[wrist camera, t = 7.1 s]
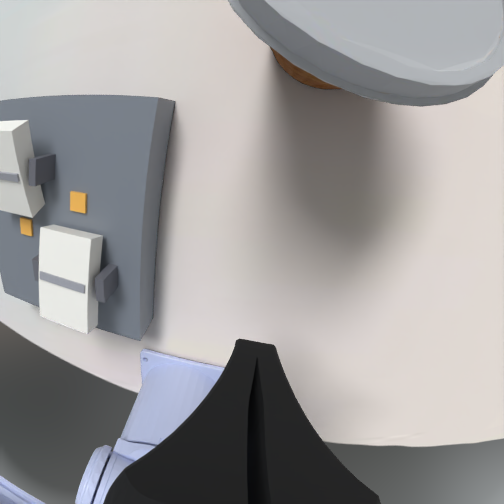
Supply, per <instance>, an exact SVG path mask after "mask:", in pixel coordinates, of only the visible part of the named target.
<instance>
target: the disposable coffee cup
mask: <svg viewBox="0 0 504 504" xmlns="http://www.w3.org/2000/svg"><path fill="white" fill-rule="evenodd" d="M228 1H229V3H230V5H231V7H232V9H233V10H234V11H235V13H236V14H237V15H238V16H239V17H240V18H241V19H242V20H243V22H244V23H245V24H246V25H247V26H248V27H249V28H250V29H251V30H252V31H253V32H254V33H255V35H256V36H257V37H258V38H259V39H261V40H262V41H263V42H265V43H266V44H268V45H269V46H270V48H271V50H272V51H273V53H274V56H275V57H276V59H277V61H278V63H279V64H280V65H281V67H282V68H283V69H284V70H285V71H286V72H287V73H288V74H289V75H290V76H292V77H293V78H294V79H296V80H298V81H299V82H301V83H303V84H306V85H309V86H312V87H315V88H320V89H344V90H347V91H349V92H352V93H354V94H356V95H359V96H362V97H364V98H368V99H373V100H378V101H382V102H387V103H391V104H398V105H410V106H431V105H441V104H447V103H450V102H454V101H457V100H460V99H463V98H466V97H468V96H469V95H471V94H472V93H474V92H475V91H477V90H478V89H479V88H481V87H482V86H484V85H485V83H486V82H487V81H488V80H489V79H490V78H491V77H492V76H493V74H494V73H495V72H496V71H497V70H498V69H500V68H501V67H502V66H503V65H504V0H228Z"/></svg>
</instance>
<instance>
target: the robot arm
mask: <svg viewBox="0 0 504 504" xmlns="http://www.w3.org/2000/svg"><path fill="white" fill-rule="evenodd" d="M140 358H141V375H142V387H141V389H140V392H139V394H138V397H137V399H136V401H135V404H134V406H133V408H132V411H131V413H130V416H129V418H128V420H127V423H126V425H125V428H124V430H123V433H122V436H121V438H118V440H117V443H116V445H115V448H114V450H113V452H112V447H110V446H108V445H104V446H103V447H99V448H97V449H96V450H95V451H94V453H93V455H92V456H91V458H90V461H89V463H88V466H87V467H86V470H85V472H84V475H83V477H82V480H81V483H80V486H79V489H78V493H77V496H76V502H75V504H381V503H380V500H379V496H378V495H377V494H375V493H374V492H373V491H372V490H370V489H369V488H368V487H366V486H365V485H364V484H363V483H362V482H360V481H359V480H358V479H357V478H356V477H355V476H354V475H353V474H352V473H351V472H350V471H349V470H347V468H345V466H344V465H343V464H342V463H341V462H340V461H339V460H338V459H337V457H336V456H335V455H334V454H333V453H332V452H331V451H330V449H329V448H328V447H327V446H326V445H325V443H324V442H323V441H322V439H321V438H320V437H319V435H318V434H317V432H316V431H315V429H314V428H313V426H312V425H311V423H310V422H309V420H308V419H307V417H306V415H305V414H304V412H303V410H302V408H301V406H300V405H299V403H298V401H297V399H296V397H295V395H294V393H293V391H292V389H291V386H290V384H289V382H288V380H287V378H286V375H285V373H284V370H283V368H282V365H281V362H280V359H279V356H278V353H277V350H276V347H275V346H274V345H272V344H266V343H260V342H255V341H249V340H244V339H238V340H236V343H235V347H234V350H233V353H232V355H231V357H230V359H229V361H228V363H227V365H226V367H225V368H224V367H219V366H214V365H209V364H204V363H200V362H195V361H191V360H187V359H182V358H178V357H174V356H170V355H166V354H162V353H159V352H155V351H151V350H147V349H143V350H142V351H141V353H140ZM146 358H147V359H146ZM0 504H45V503H43V502H42V501H40V500H38V499H36V498H35V497H33V496H31V495H29V494H28V493H26V492H25V491H23V490H21V489H20V488H18V487H17V486H15V485H14V484H12V483H11V482H9V481H7V480H6V479H5V478H3V477H2V476H0Z"/></svg>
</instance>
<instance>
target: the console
mask: <svg viewBox="0 0 504 504" xmlns="http://www.w3.org/2000/svg"><path fill="white" fill-rule="evenodd" d="M174 105H175V101H172V100H168V99H163V98H158V97H144V96H124V95H61V96H43V97H30V98H19V99H10V100H2V101H0V121H13V120H29V127H30V134H31V140H32V146H33V152H34V158H30V159H29V186H38V185H41V189H42V193H43V197H44V201H45V205H44V206H43V207H42V208H41V209H40V210H39V211H38V212H37V214H36V215H35V216H34V217H33V218H31V217H27V216H23V215H18V214H14V213H10V212H6V211H1V210H0V273H1V278H2V282H3V287H4V291H5V293H7V294H10V295H12V296H14V297H16V298H19V299H21V300H23V301H26V302H28V303H31V304H33V305H36V306H38V307H40V306H39V242H40V227H44V226H49V225H58V226H63V227H67V228H71V229H76V230H80V231H85V232H89V233H93V234H98V235H102V236H103V241H102V251H101V263H100V273H99V274H98V275H97V276H96V277H95V289H96V301H98V325H97V326H96V328H99V329H102V330H105V331H108V332H112V333H115V334H118V335H122V336H125V337H128V338H132V339H135V340H139V341H141V339H142V337H143V335H144V333H145V332H146V330H147V328H148V326H149V324H150V322H151V320H152V319H153V302H154V278H155V260H156V245H157V233H158V221H159V211H160V201H161V192H162V184H163V176H164V168H165V161H166V154H167V147H168V140H169V134H170V128H171V122H172V116H173V111H174Z"/></svg>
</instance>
